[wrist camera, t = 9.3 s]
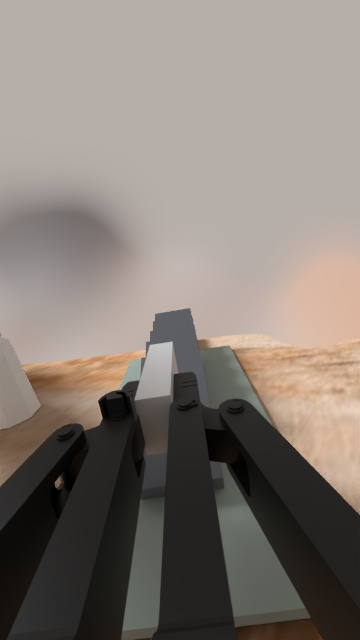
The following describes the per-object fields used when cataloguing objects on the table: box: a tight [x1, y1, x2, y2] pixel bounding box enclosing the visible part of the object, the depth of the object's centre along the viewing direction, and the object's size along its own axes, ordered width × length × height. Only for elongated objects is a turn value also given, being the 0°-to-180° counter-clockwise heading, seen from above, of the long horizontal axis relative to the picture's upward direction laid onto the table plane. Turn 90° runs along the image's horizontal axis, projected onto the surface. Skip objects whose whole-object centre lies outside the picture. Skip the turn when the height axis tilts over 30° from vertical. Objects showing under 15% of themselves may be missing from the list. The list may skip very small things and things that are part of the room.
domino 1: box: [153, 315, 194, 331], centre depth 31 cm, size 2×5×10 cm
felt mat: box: [119, 346, 311, 640], centre depth 24 cm, size 28×14×1 cm, turn 1°
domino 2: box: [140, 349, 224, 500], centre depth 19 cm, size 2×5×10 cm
